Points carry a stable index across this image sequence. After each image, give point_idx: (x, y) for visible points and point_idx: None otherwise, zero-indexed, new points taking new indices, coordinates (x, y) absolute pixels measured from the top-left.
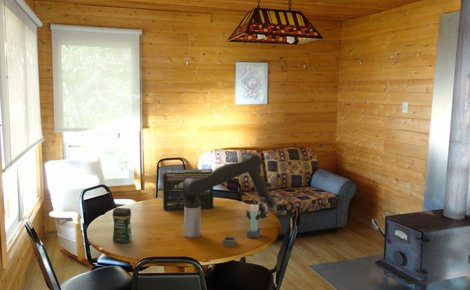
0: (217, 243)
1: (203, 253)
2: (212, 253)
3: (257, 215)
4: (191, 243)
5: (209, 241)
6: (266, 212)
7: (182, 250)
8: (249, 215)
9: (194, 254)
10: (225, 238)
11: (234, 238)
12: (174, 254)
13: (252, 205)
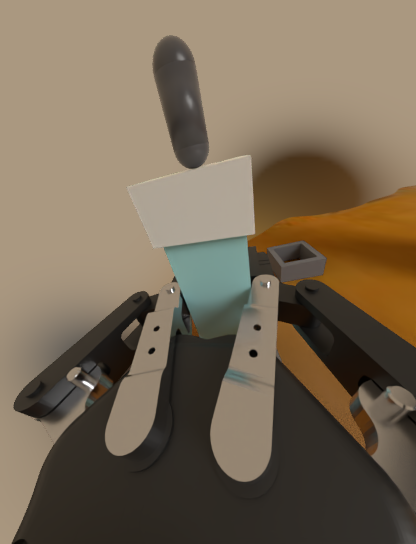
0: (331, 259)
1: (311, 225)
2: (293, 230)
3: None
4: (407, 236)
5: (374, 260)
6: (48, 381)
7: (369, 216)
8: (253, 248)
9: (324, 218)
10: (311, 253)
11: (279, 258)
12: (361, 208)
13: (223, 161)
